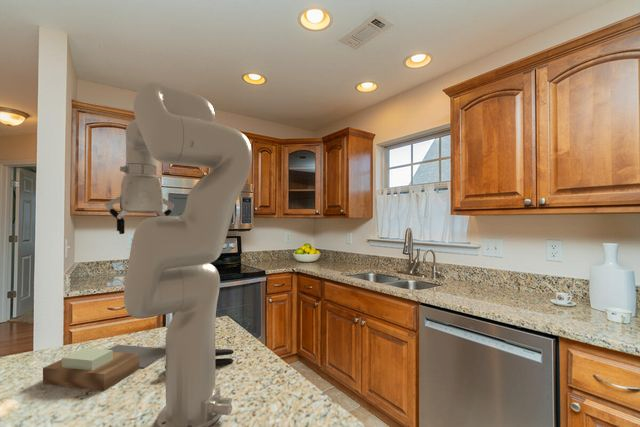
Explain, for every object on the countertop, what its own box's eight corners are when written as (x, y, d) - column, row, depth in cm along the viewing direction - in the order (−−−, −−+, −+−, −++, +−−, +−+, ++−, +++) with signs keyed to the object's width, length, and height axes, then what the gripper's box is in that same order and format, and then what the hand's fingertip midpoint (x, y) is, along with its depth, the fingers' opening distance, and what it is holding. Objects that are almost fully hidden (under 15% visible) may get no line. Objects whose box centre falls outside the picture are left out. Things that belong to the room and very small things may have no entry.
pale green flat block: (112, 359, 82) (112, 350, 82) (92, 370, 76) (92, 360, 76) (84, 356, 84) (84, 347, 84) (61, 367, 78) (61, 357, 78)
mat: (172, 350, 97) (172, 349, 97) (143, 368, 85) (144, 367, 85) (117, 345, 101) (117, 344, 101) (82, 362, 89) (82, 361, 89)
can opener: (163, 382, 79) (163, 359, 79) (165, 369, 85) (165, 349, 85) (236, 368, 86) (235, 347, 86) (232, 357, 92) (232, 338, 92)
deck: (139, 369, 85) (139, 354, 85) (104, 391, 74) (104, 374, 74) (84, 363, 88) (84, 349, 88) (42, 383, 78) (42, 367, 78)
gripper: (107, 167, 80) (107, 235, 79) (178, 173, 91) (178, 232, 91) (102, 171, 85) (102, 233, 85) (170, 176, 97) (170, 231, 97)
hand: (141, 233), depth 88 cm, fingers open, 9 cm apart
